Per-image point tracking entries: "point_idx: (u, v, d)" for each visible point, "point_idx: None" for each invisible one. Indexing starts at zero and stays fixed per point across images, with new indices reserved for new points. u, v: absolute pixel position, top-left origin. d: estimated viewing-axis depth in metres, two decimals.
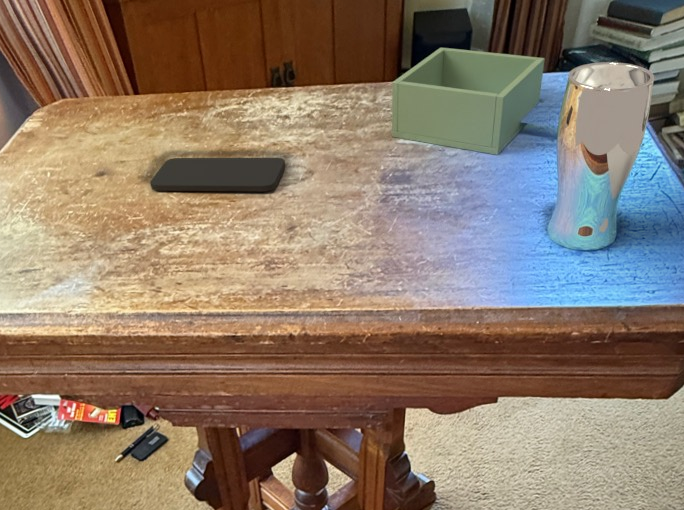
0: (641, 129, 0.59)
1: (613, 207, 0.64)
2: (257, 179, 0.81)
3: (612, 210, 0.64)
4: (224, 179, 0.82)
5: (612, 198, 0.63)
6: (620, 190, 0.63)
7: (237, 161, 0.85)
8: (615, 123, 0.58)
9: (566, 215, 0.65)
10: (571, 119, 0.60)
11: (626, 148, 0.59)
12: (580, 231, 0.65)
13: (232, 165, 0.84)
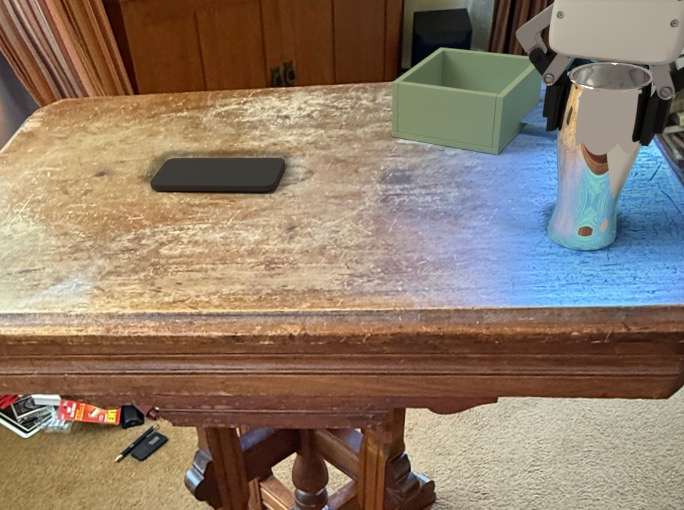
0: (641, 129, 0.59)
1: (613, 207, 0.64)
2: (257, 179, 0.81)
3: (612, 210, 0.64)
4: (224, 179, 0.82)
5: (612, 198, 0.63)
6: (620, 190, 0.63)
7: (237, 161, 0.85)
8: (615, 123, 0.58)
9: (566, 215, 0.65)
10: (571, 119, 0.60)
11: (626, 148, 0.59)
12: (580, 231, 0.65)
13: (232, 165, 0.84)
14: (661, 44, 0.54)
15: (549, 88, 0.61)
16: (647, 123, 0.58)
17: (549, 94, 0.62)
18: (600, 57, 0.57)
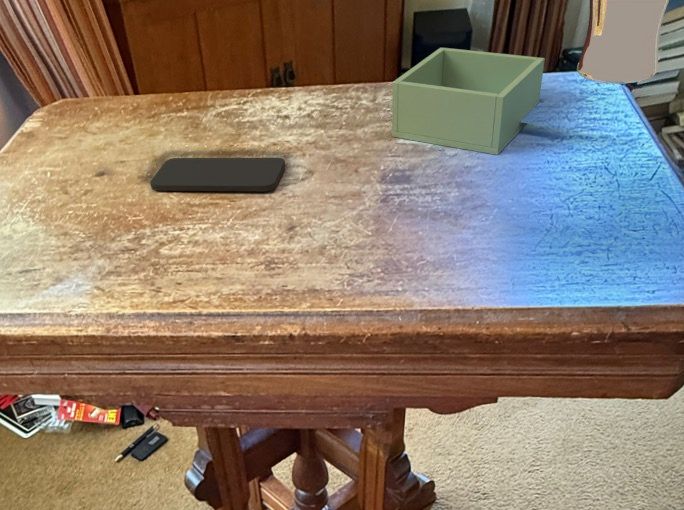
0: None
1: (656, 27, 0.55)
2: (257, 179, 0.81)
3: (654, 31, 0.55)
4: (224, 179, 0.82)
5: (655, 14, 0.54)
6: (664, 4, 0.54)
7: (237, 161, 0.85)
8: None
9: (600, 41, 0.56)
10: None
11: None
12: (617, 59, 0.56)
13: (232, 165, 0.84)
14: None
15: None
16: None
17: None
18: None
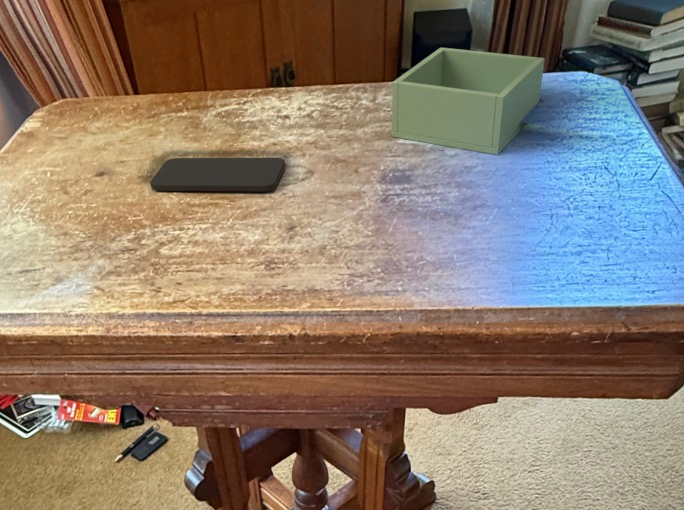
0: None
1: None
2: (257, 179, 0.81)
3: None
4: (224, 179, 0.82)
5: None
6: None
7: (237, 161, 0.85)
8: None
9: None
10: None
11: None
12: None
13: (232, 165, 0.84)
14: None
15: None
16: None
17: None
18: None
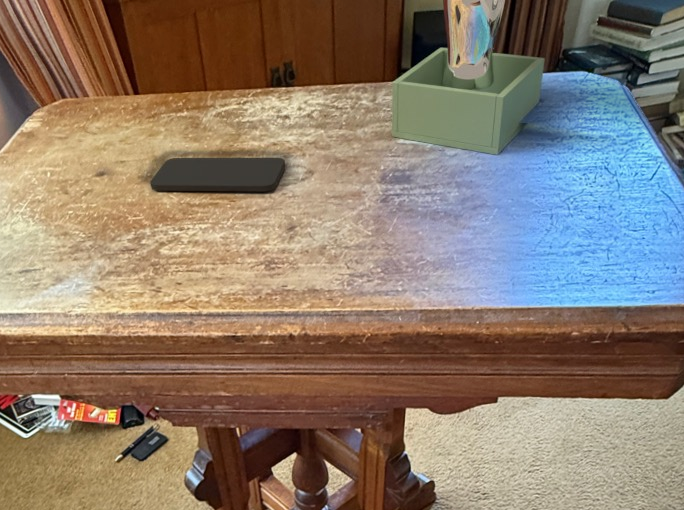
0: None
1: (488, 54, 0.83)
2: (257, 179, 0.81)
3: (487, 56, 0.83)
4: (224, 179, 0.82)
5: (485, 45, 0.82)
6: (491, 39, 0.82)
7: (237, 161, 0.85)
8: None
9: (453, 62, 0.84)
10: None
11: (490, 0, 0.78)
12: (463, 74, 0.84)
13: (232, 165, 0.84)
14: None
15: None
16: None
17: None
18: None
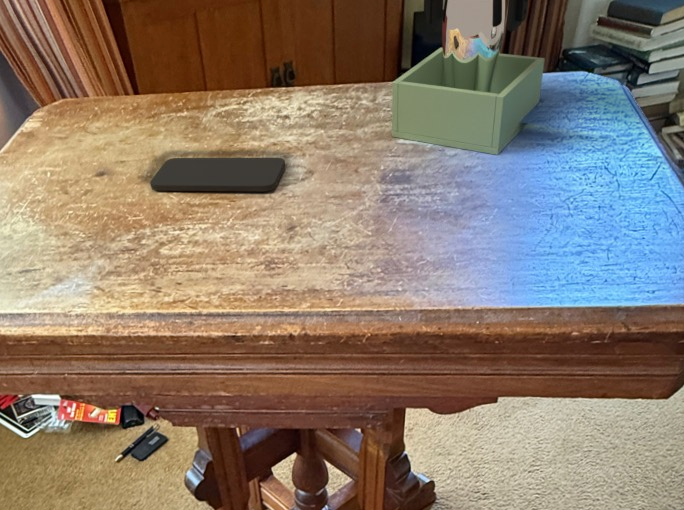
0: (498, 28, 0.80)
1: None
2: (257, 179, 0.81)
3: None
4: (224, 179, 0.82)
5: (483, 85, 0.84)
6: (489, 79, 0.84)
7: (237, 161, 0.85)
8: (477, 23, 0.79)
9: None
10: (448, 22, 0.81)
11: (487, 43, 0.81)
12: None
13: (232, 165, 0.84)
14: None
15: None
16: (510, 12, 0.78)
17: None
18: None
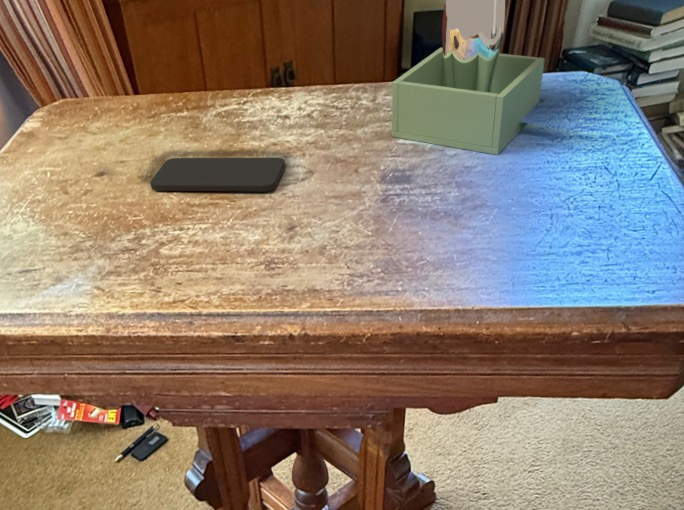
0: (498, 28, 0.80)
1: None
2: (257, 179, 0.81)
3: None
4: (224, 179, 0.82)
5: (483, 85, 0.84)
6: (489, 78, 0.84)
7: (237, 161, 0.85)
8: (477, 22, 0.79)
9: None
10: (448, 22, 0.81)
11: (487, 43, 0.81)
12: None
13: (232, 165, 0.84)
14: None
15: None
16: None
17: None
18: None
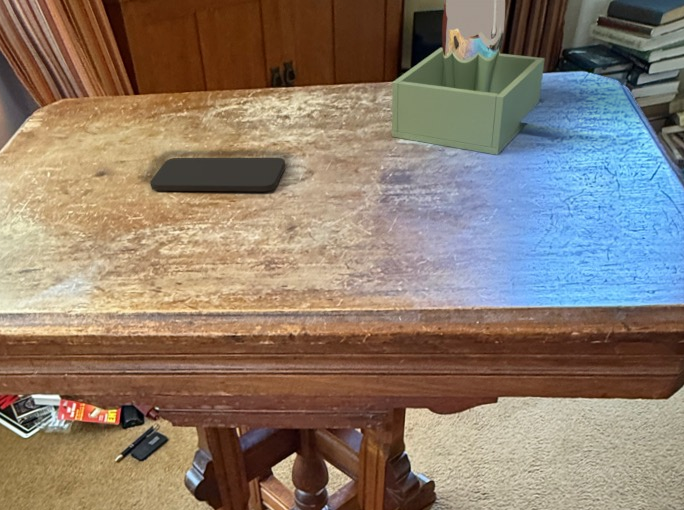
0: (498, 28, 0.80)
1: None
2: (257, 179, 0.81)
3: None
4: (224, 179, 0.82)
5: (483, 84, 0.84)
6: (489, 78, 0.84)
7: (237, 161, 0.85)
8: (477, 22, 0.79)
9: None
10: (448, 22, 0.81)
11: (487, 43, 0.81)
12: None
13: (232, 165, 0.84)
14: None
15: None
16: None
17: None
18: None
